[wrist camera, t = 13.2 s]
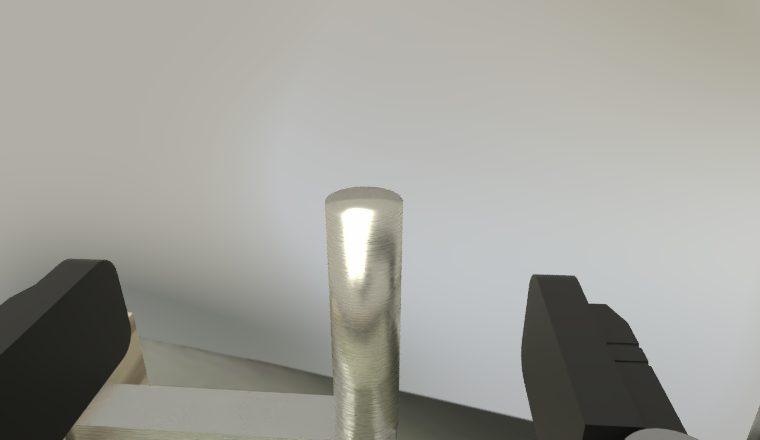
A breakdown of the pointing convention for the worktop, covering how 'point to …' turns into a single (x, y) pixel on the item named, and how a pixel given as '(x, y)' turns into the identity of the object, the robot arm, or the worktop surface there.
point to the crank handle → (349, 354)
